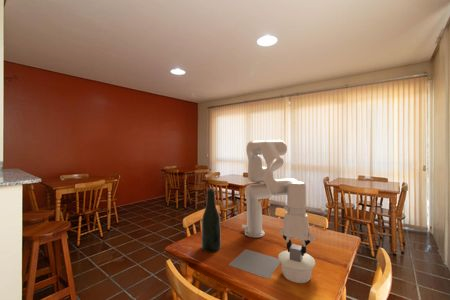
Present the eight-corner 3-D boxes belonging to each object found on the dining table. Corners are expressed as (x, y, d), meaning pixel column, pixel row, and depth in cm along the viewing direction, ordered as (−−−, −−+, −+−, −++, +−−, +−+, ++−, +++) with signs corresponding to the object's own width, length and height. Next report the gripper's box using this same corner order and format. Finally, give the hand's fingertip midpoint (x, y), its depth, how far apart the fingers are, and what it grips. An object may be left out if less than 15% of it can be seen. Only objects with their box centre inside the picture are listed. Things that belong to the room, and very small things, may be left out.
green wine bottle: (198, 251, 114) (198, 189, 114) (205, 242, 125) (205, 186, 124) (217, 254, 112) (216, 190, 111) (223, 245, 122) (222, 186, 121)
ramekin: (317, 275, 93) (317, 259, 93) (305, 290, 83) (305, 272, 83) (288, 264, 102) (288, 249, 102) (274, 277, 92) (274, 260, 92)
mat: (228, 265, 100) (228, 265, 100) (245, 249, 116) (245, 249, 116) (268, 279, 90) (268, 278, 90) (282, 260, 105) (282, 259, 105)
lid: (273, 263, 90) (273, 249, 90) (284, 249, 103) (284, 236, 103) (311, 274, 82) (311, 259, 82) (318, 257, 95) (318, 244, 95)
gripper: (274, 209, 93) (274, 251, 94) (316, 216, 84) (316, 262, 85) (279, 205, 100) (279, 244, 100) (319, 211, 90) (319, 254, 91)
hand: (296, 252), depth 92 cm, fingers open, 5 cm apart
